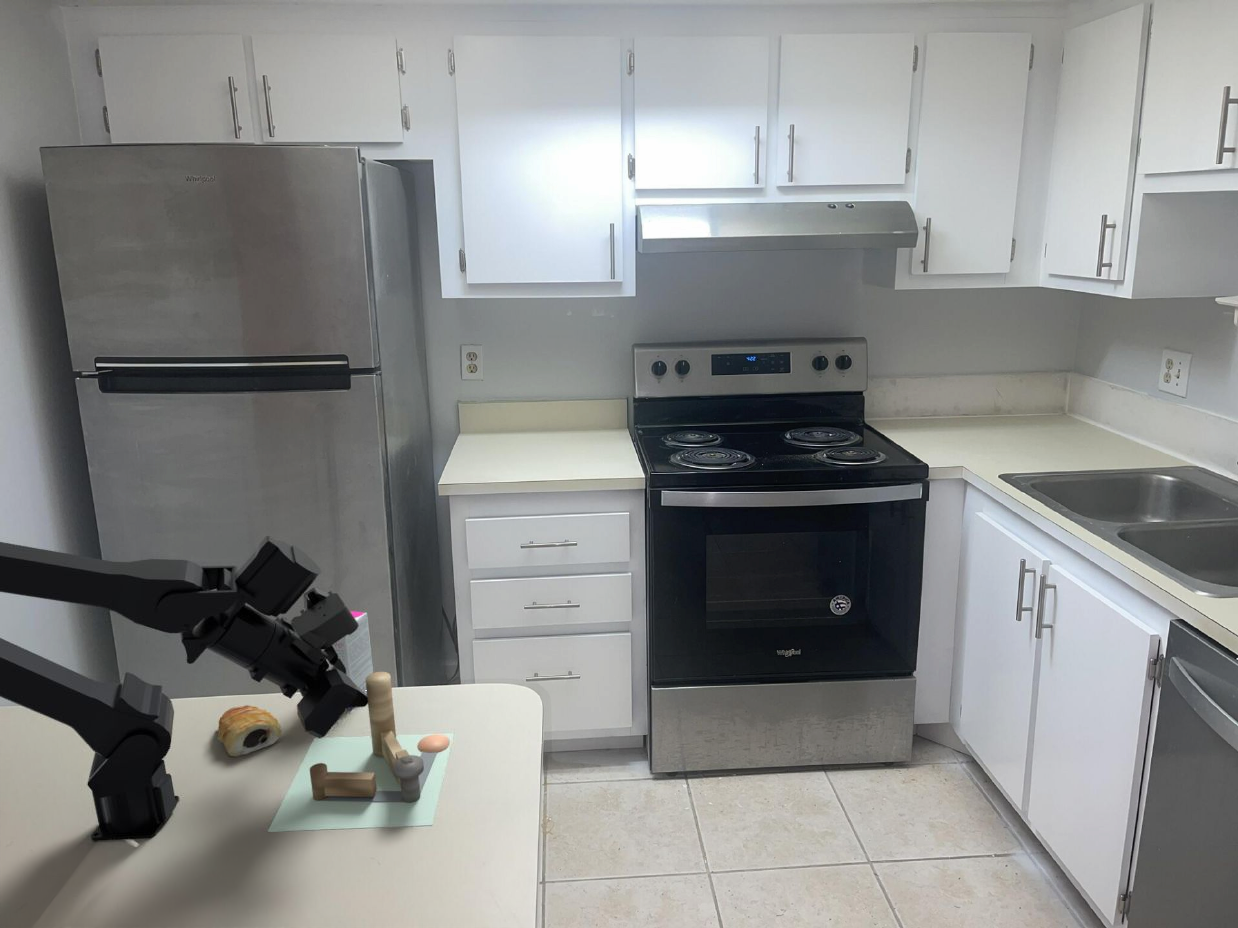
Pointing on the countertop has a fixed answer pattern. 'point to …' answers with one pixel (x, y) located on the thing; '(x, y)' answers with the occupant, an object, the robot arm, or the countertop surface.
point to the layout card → (365, 811)
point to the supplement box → (356, 652)
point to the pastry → (247, 729)
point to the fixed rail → (355, 784)
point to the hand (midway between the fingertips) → (367, 702)
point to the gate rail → (388, 729)
